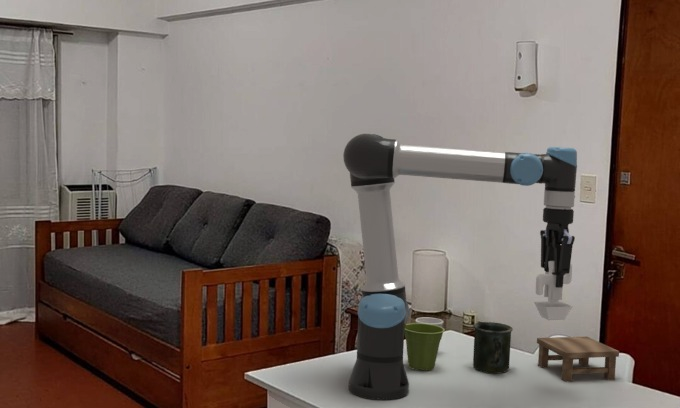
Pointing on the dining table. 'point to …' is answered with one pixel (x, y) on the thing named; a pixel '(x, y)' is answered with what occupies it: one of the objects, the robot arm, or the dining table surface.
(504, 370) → the mug
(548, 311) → the figurine
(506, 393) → the dining table surface
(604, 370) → the walnut stool
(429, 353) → the plant pot
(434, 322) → the dixie cup
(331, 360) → the dining table surface
